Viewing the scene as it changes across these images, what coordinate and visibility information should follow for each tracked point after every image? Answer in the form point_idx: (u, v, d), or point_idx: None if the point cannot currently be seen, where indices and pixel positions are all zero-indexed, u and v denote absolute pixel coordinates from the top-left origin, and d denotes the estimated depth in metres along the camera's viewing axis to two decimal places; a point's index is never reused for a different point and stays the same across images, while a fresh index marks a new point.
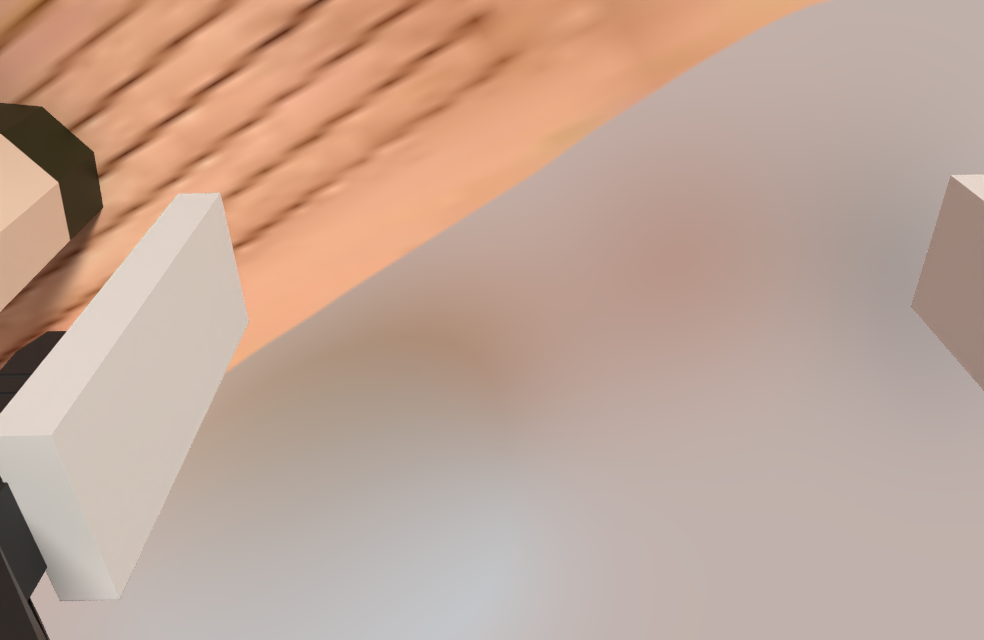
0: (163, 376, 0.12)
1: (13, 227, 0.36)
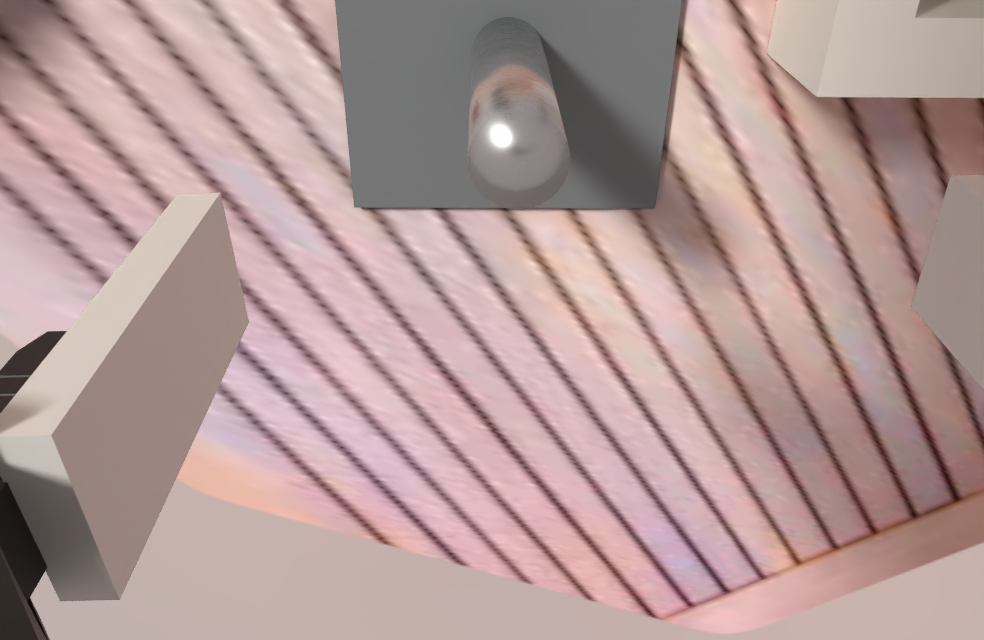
0: (163, 376, 0.12)
1: None
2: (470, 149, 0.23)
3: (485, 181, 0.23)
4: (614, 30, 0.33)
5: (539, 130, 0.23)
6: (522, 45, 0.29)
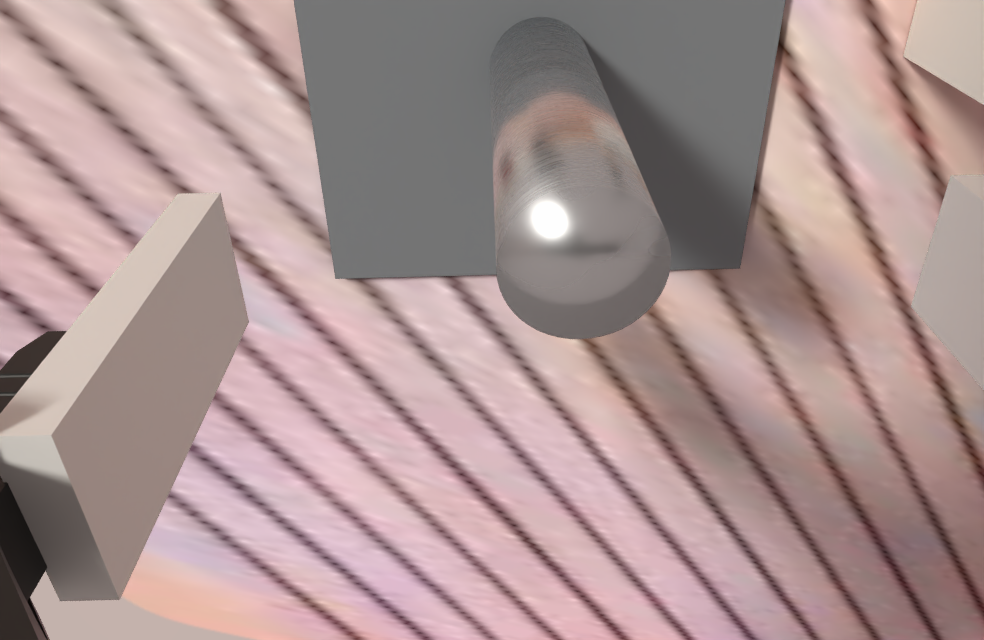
0: (163, 376, 0.12)
1: None
2: (501, 249, 0.13)
3: (526, 298, 0.14)
4: (689, 31, 0.23)
5: (619, 215, 0.13)
6: (567, 60, 0.19)
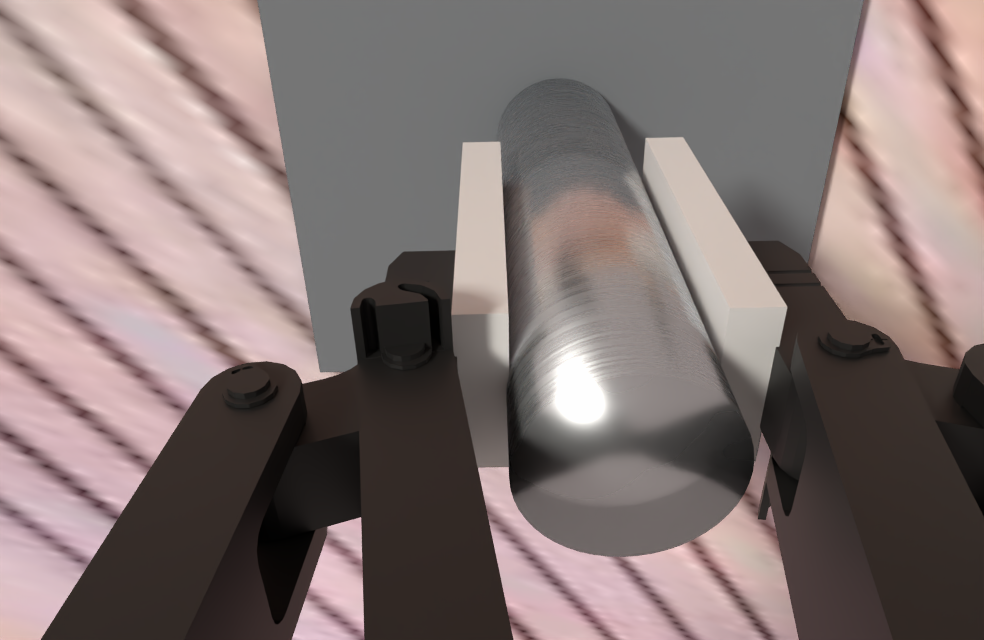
0: None
1: None
2: (516, 452, 0.10)
3: (551, 511, 0.10)
4: (735, 98, 0.20)
5: (684, 411, 0.09)
6: (595, 143, 0.15)
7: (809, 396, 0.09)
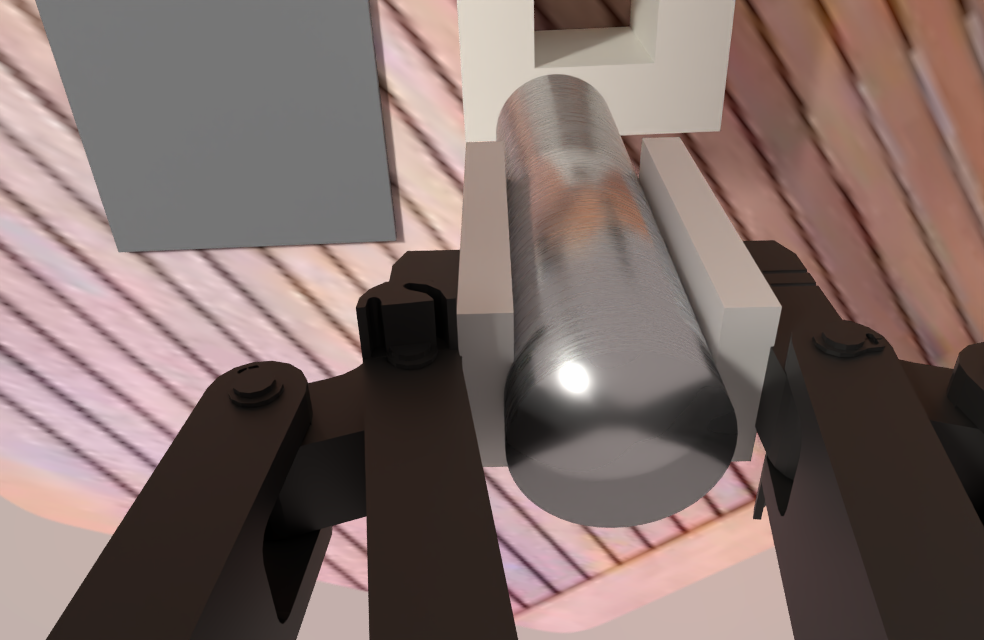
0: None
1: None
2: (511, 425, 0.10)
3: (545, 483, 0.11)
4: (318, 83, 0.36)
5: (671, 386, 0.10)
6: (590, 136, 0.16)
7: (804, 396, 0.09)
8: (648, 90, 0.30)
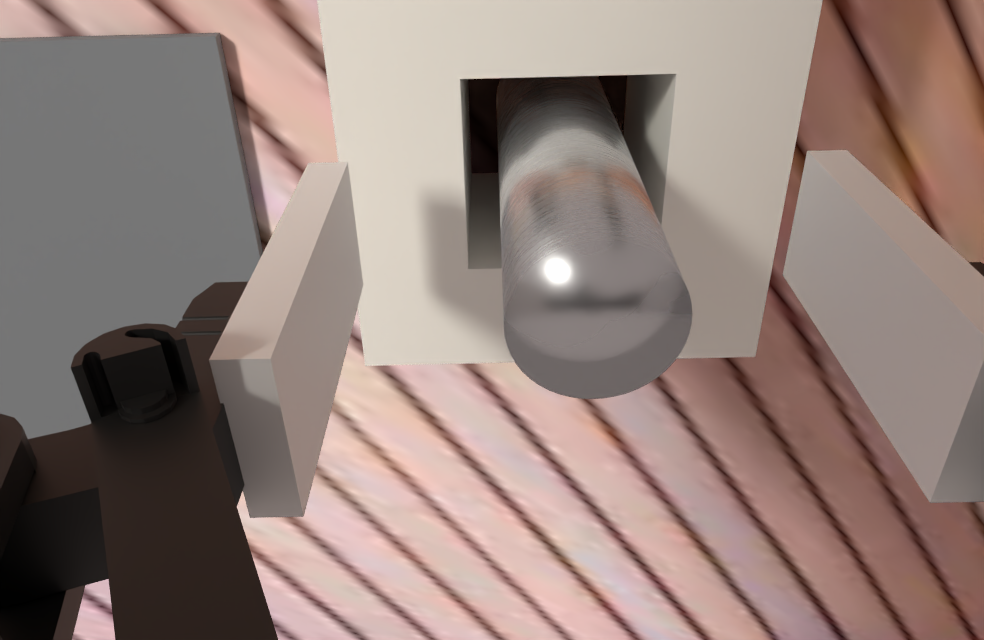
0: (321, 322, 0.13)
1: None
2: (509, 304, 0.13)
3: (536, 356, 0.13)
4: (171, 238, 0.25)
5: (638, 271, 0.12)
6: (579, 92, 0.18)
7: None
8: None
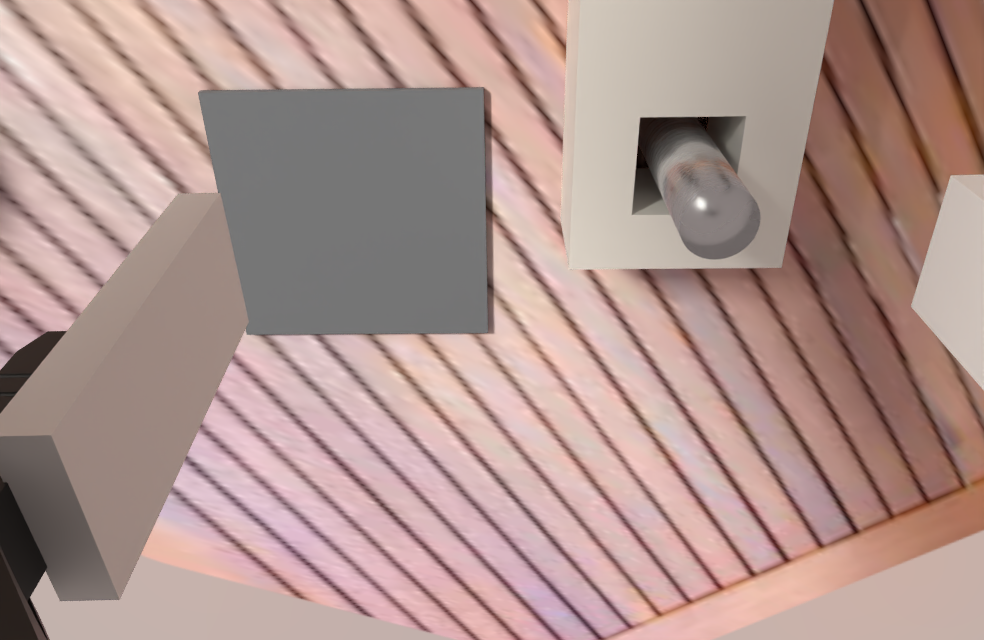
0: (163, 376, 0.12)
1: None
2: (683, 214, 0.30)
3: (691, 238, 0.30)
4: (435, 204, 0.42)
5: (739, 200, 0.29)
6: (693, 124, 0.36)
7: None
8: None
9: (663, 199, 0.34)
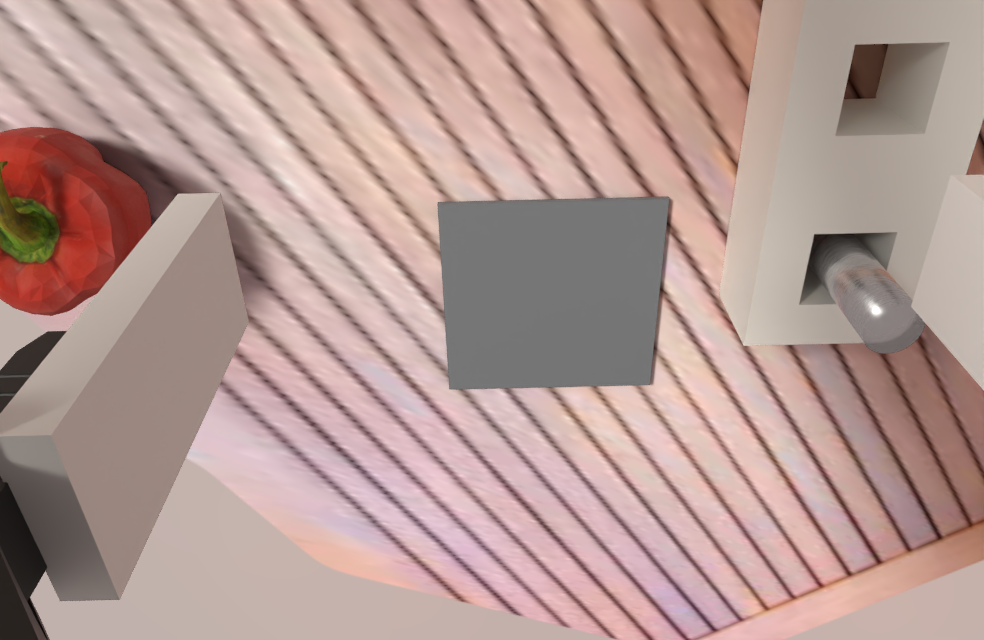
0: (163, 376, 0.12)
1: None
2: (866, 322, 0.39)
3: (871, 338, 0.40)
4: (619, 286, 0.51)
5: (910, 311, 0.39)
6: (849, 233, 0.45)
7: None
8: None
9: (833, 299, 0.43)
